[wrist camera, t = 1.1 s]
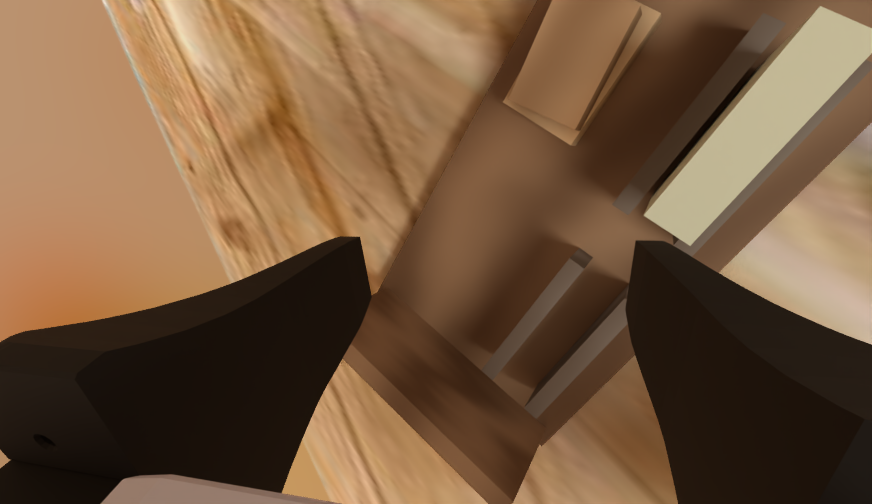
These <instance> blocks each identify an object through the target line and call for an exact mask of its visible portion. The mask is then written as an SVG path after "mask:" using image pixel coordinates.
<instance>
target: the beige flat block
mask: <svg viewBox="0 0 872 504" xmlns="http://www.w3.org/2000/svg"><path fill="white" fill-rule="evenodd" d="M871 53H872V28H870V27H867V26H865V25H863V24H860V23H858V22H856V21H854V20H851V19H849V18H847V17H844V16H842V15H840V14H838V13H835V12H833V11H831V10H828V9H826V8H824V7H821V6H820V7H819V8H818V9H817V10H816V11H815V12H814V13H813V14H812V15H811V16H810V17H809V18H808V19H807V20H806V21H805V22H804V23H803V24H802V25H801V26H800V27H799V28H798V29H797V30H796V31H795V32H794V33H793V34H792V35H791V36H789V37H788V38H787V39H786V40H785V41H784V42H783V43H782V44H781V45H780V46H779V47H778V48H777V49H776V50H775V51H774V52H773V53H772V54H771V55H770V56H769V57H768V58H767V59H766V60H765V61H764V62H763V63H762V64H761V65H760V66H759V67H758V68H757V69H756V71H755V72H754V73H753V74H752V75H751V77H750V78H749V79H748V80H747V81H746V83H745V84H744V85H743V86H742V87H741V89H740V90H739V91H738V92H737V93H736V95H735V96H734V97H733V98H732V99H731V101H730V102H729V103H728V104H727V105H726V107H725V108H724V109H723V110H722V112H721V113H720V114H719V115H718V116H717V118H716V119H715V120H714V121H713V122H712V124H711V125H710V126H709V127H708V128H707V130H706V131H705V132H704V133H703V134H702V136H701V137H700V138H699V139H698V140H697V142H696V143H695V144H694V145H693V146H692V148H691V149H690V150H689V151H688V152H687V154H686V155H685V156H684V157H683V158H682V160H681V161H680V162H679V163H678V164H677V166H676V167H675V168H674V169H673V170H672V172H671V173H670V174H669V175H668V176H667V178H666V179H665V180H664V181H663V182H662V184H661V185H660V186H659V187H658V188H657V190H656V191H655V192H654V193H653V195H652V197H651V199H650V202H649V204H648V206H647V209H646V211H645V213H644V216H645V217H647V218H648V219H650V220H651V221H653V222H654V223H656V224H657V225H659V226H660V227H662V228H663V229H665V230H666V231H668V232H670V233H671V234H673V235H674V236H676V237H677V238H679V239H680V240H682V241H683V242H685V243H686V244H688V245H689V246H691V244H692V243H693V242H694V241H695V240H696V239H697V238H698V237H699V236H700V235H701V234H702V233H703V232H704V231H705V230H706V229H707V227H708V226H709V225H710V224H711V223H712V222H713V221H714V220H715V219H716V218H717V217H718V216H719V215H720V214H721V213H722V212H723V210H724V209H725V208H726V207H727V206H728V205H729V204H730V203H731V202H732V201H733V200H734V199H735V198H736V197H737V196H738V195H739V194H740V192H741V191H742V190H743V189H744V188H745V187H746V186H747V185H748V184H749V183H750V182H751V181H752V180H753V179H754V178H755V177H756V175H757V174H758V173H759V172H760V171H761V170H762V169H763V168H764V167H765V166H766V165H767V164H768V163H769V162H770V161H771V160H772V158H773V157H774V156H775V155H776V154H777V153H778V152H779V151H780V150H781V149H782V148H783V147H784V146H785V145H786V144H787V143H788V142H789V140H790V139H791V138H792V137H793V136H794V135H795V134H796V133H797V132H798V131H799V130H800V129H801V128H802V127H803V126H804V125H805V123H806V122H807V121H808V120H809V119H810V118H811V117H812V116H813V115H814V114H815V113H816V112H817V111H818V110H819V109H820V108H821V107H822V105H823V104H824V103H825V102H826V101H827V100H828V99H829V98H830V97H831V96H832V95H833V94H834V93H835V92H836V91H837V90H838V88H839V87H840V86H841V85H842V84H843V83H844V82H845V81H846V80H847V79H848V78H849V77H850V76H851V75H852V74H853V73H854V71H855V70H856V69H857V68H858V67H859V66H860V65H861V64H862V63H863V62H864V61H865V60H866V59H867V58H868V57H869V56H870V55H871Z"/></svg>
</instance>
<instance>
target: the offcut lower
mask: <svg viewBox="0 0 872 504" xmlns="http://www.w3.org/2000/svg"><path fill="white" fill-rule="evenodd" d="M626 1H629V2H632V3H635V4H638V5H641V11H642V16H641V18H640V19H639V21H638V23H637V25H636V27H635V29H634V31H633V33H632V35H631V36H630V38H629V40H628V42H627V44H626V46H625V48H624V50H623V51H622V53H621V55H620V57H619V59H618V61H617V63H616V65H615V67H614V68H613V70H612V72H611V74H610V76H609V78H608V80H607V82H606V84H605V85H604V87H603V89H602V91H601V93H600V95H599V97H598V99H597V100H596V102H595V104H594V106H593V108H592V110H591V112H590V114H589V116H588V117H587V119H586V121H585V123H584V125H583V127H582V129H581V131H577V130H574V129H572V128H570V127H568V126H565V125H563V124H561V123H559V122H557V121H554V120H552V119H550V118H548V117H545V116H543V115H541V114H539V113H537V112H534V111H532V110H530V109H528V108H525V107H523V106H521V105H519V104H517V103H514V102H512V101H510V100H508V99H509V96H510V94H511V92H512V90H513V87H514V85H515V83H516V81H517V78H518V76H519V75H518V76H517V78H516V80H515V82H514V83H513V85H512V87H511V89H510V90H509V92H508V94H507V96H506V97H505V99H504V101H503V103H505V104H507V105H508V106H510V107H511V108H513V109H514V110H516V111H518V112H519V113H521V114H522V115H524V116H525V117H527V118H529V119H530V120H532V121H533V122H535V123H536V124H538V125H539V126H541V127H543V128H544V129H546V130H547V131H549V132H550V133H552V134H554V135H555V136H557V137H558V138H560V139H561V140H563V141H565V142H566V143H568V144H569V145H572V146H576V145H577V143H578V142H579V140H580V139H581V138H582V136H583V135H584V133H585V132H586V130H587V129H588V127H589V126H590V124H591V123H592V122H593V120H594V119H595V117H596V116H597V114H598V113H599V111H600V110H601V109H602V107H603V106H604V104H605V103H606V101H607V100H608V98H609V97H610V96H611V94H612V93H613V91H614V90H615V88H616V87H617V85H618V84H619V82H620V81H621V80H622V78H623V77H624V75H625V74H626V72H627V71H628V69H629V68H630V67H631V65H632V64H633V62H634V61H635V59H636V58H637V56H638V55H639V54H640V52H641V51H642V49H643V48H644V46H645V45H646V43H647V42H648V40H649V39H650V38H651V36H652V35H653V33H654V32H655V30H656V29H657V27H658V26H659V25H660V23H661V22H662V21H661V13H660V12H658V11H656V10H653V9H651V8H649V7H647V6H645V5H643V4H641V3H639V2H637V1H635V0H626ZM520 72H521V71H520ZM519 74H520V73H519Z"/></svg>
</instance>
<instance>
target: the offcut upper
mask: <svg viewBox="0 0 872 504" xmlns="http://www.w3.org/2000/svg"><path fill="white" fill-rule="evenodd" d="M641 16H642V11H641V5H638V4H635V3H632V2H629V1H626V0H552V2H551V4H550V6H549V8H548V11H547V13H546V15H545V17H544V20H543V22H542V24H541V26H540V29H539V31H538V33H537V35H536V38H535V40H534V42H533V44H532V47H531V49H530V51H529V53H528V56H527V58H526V60H525V63H524V65H523V67H522V69H521V72H520V74H519V76H518V78H517V81H516V83H515V85H514V87H513V90H512V92H511V94H510V96H509V99H508V100H510V101H512V102H514V103H517V104H519V105H521V106H523V107H525V108H528V109H530V110H532V111H534V112H537V113H539V114H541V115H543V116H545V117H548V118H550V119H552V120H554V121H557V122H559V123H561V124H563V125H565V126H568V127H570V128H572V129H574V130H577V131H581V129H582V127H583V125H584V123H585V121H586V119H587V117H588V116H589V114H590V112H591V110H592V108H593V106H594V104H595V102H596V100H597V99H598V97H599V95H600V93H601V91H602V89H603V87H604V85H605V84H606V82H607V80H608V78H609V76H610V74H611V72H612V70H613V68H614V67H615V65H616V63H617V61H618V59H619V57H620V55H621V53H622V51H623V50H624V48H625V46H626V44H627V42H628V40H629V38H630V36H631V35H632V33H633V31H634V29H635V27H636V25H637V23H638V21H639V19H640V18H641Z"/></svg>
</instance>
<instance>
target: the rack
mask: <svg viewBox="0 0 872 504" xmlns="http://www.w3.org/2000/svg"><path fill="white" fill-rule="evenodd" d="M635 1H637V2H639V3H641V4H643V5H645V6H647V7H649V8H651V9H653V10H656V11H658V12H660V13H661V21H662V22H661V23H660V25H659V26H658V27H657V29H656V30H655V32H654V33H653V35H652V36H651V38H650V39H649V40H648V42H647V43H646V45H645V46H644V48H643V49H642V51H641V52H640V54H639V55H638V56H637V58H636V59H635V61H634V62H633V64H632V65H631V67H630V68H629V69H628V71H627V72H626V74H625V75H624V77H623V78H622V80H621V81H620V82H619V84H618V85H617V87H616V88H615V90H614V91H613V93H612V94H611V96H610V97H609V98H608V100H607V101H606V103H605V104H604V106H603V107H602V109H601V110H600V111H599V113H598V114H597V116H596V117H595V119H594V120H593V122H592V123H591V124H590V126H589V127H588V129H587V130H586V132H585V133H584V135H583V136H582V138H581V139H580V140H579V142H578V143H577V145H576V146H572V145H569V144H568V143H566V142H565V141H563V140H561V139H560V138H558V137H557V136H555V135H554V134H552V133H550V132H549V131H547V130H546V129H544V128H543V127H541V126H539V125H538V124H536V123H535V122H533V121H532V120H530V119H529V118H527V117H525V116H524V115H522V114H521V113H519V112H518V111H516V110H514V109H513V108H511V107H510V106H508V105H507V104H505V103H503V101H504V99H505V97H506V96H507V94H508V92H509V90H510V89H511V87H512V85H513V83H514V82H515V80H516V78H517V76H518V75H519V73H520V71H521V69H522V67H523V65H524V63H525V60H526V58H527V56H528V53H529V51H530V49H531V47H532V44H533V42H534V40H535V38H536V35H537V33H538V31H539V29H540V26H541V24H542V22H543V20H544V17H545V15H546V13H547V11H548V8H549V6H550V4H551V2H552V0H537V2H536V4H535V6H534V8H533V10H532V11H531V13H530V15H529V17H528V19H527V20H526V22H525V24H524V26H523V28H522V30H521V31H520V33H519V35H518V37H517V39H516V41H515V42H514V44H513V46H512V48H511V50H510V51H509V53H508V55H507V57H506V59H505V61H504V62H503V64H502V66H501V68H500V70H499V72H498V73H497V75H496V77H495V79H494V81H493V82H492V84H491V86H490V88H489V90H488V92H487V93H486V95H485V97H484V99H483V101H482V103H481V104H480V106H479V108H478V110H477V112H476V113H475V115H474V117H473V119H472V121H471V123H470V124H469V126H468V128H467V130H466V132H465V134H464V135H463V137H462V139H461V141H460V143H459V144H458V146H457V148H456V150H455V152H454V154H453V155H452V157H451V159H450V161H449V163H448V165H447V166H446V168H445V170H444V172H443V174H442V175H441V177H440V179H439V181H438V183H437V185H436V186H435V188H434V190H433V192H432V194H431V196H430V197H429V199H428V201H427V203H426V205H425V207H424V208H423V210H422V212H421V214H420V216H419V217H418V219H417V221H416V223H415V225H414V227H413V228H412V230H411V232H410V234H409V236H408V238H407V239H406V241H405V243H404V245H403V247H402V248H401V250H400V252H399V254H398V256H397V258H396V259H395V261H394V263H393V265H392V267H391V269H390V270H389V272H388V274H387V276H386V278H385V279H384V281H383V283H382V285H381V287H380V289H379V290H378V292H377V293H376V294H373V295H371V296H372V298H371V301H370V303H369V306H368V309H367V312H366V314H365V317H364V319H363V322H362V324H361V326H360V328H359V330H358V332H357V334H356V336H355V337H354V339H353V341H352V343H351V345H350V346H349V348H348V350H347V352H346V353H345V355H344V357H343V359H344V360H345V361H346V362H347V363H348V364H349V365H350V366H351V367H352V368H353V369H354V370H355V371H356V372H357V373H358V374H359V375H360V376H361V377H362V378H363V379H364V380H365V381H366V382H367V383H368V384H369V385H370V386H371V387H372V388H373V389H374V390H375V391H376V392H377V393H378V394H379V395H380V396H381V397H382V398H383V399H384V400H385V401H386V402H387V403H388V404H389V405H390V406H391V407H392V408H393V409H394V410H395V411H396V412H397V413H398V414H399V415H400V416H401V417H402V418H403V419H404V420H405V421H406V422H407V423H408V424H409V425H410V426H411V427H412V428H413V429H414V430H415V431H416V432H417V433H418V434H419V435H420V436H421V437H422V438H423V439H424V440H425V441H426V442H427V443H428V444H429V445H430V446H431V447H432V448H433V449H434V450H435V451H436V452H437V453H438V454H439V455H440V456H441V457H442V458H443V459H444V460H445V461H446V462H447V463H448V464H449V465H450V466H451V467H452V468H453V469H454V470H455V471H456V472H457V473H458V474H459V475H460V476H461V477H462V478H463V479H464V480H465V481H466V482H467V483H468V484H469V485H470V486H471V487H472V488H473V489H474V490H475V491H476V492H477V493H478V494H479V495H480V496H481V497H482V498H483V499H484V500H485V501H486V502H487V503H488V504H512V503H513V501H514V499H515V497H516V495H517V493H518V490H519V488H520V486H521V484H522V481H523V479H524V477H525V475H526V473H527V470H528V468H529V466H530V464H531V461H532V459H533V457H534V455H535V453H536V450H537V448H538V446H539V444H540V445H541V446H542V445H543V444H544V443H545V442H546V441H547V440H548V439H549V438H550V437H552V436H553V435H554V434H555V433H556V432H557V431H558V430H559V429H560V428H561V427H562V426H563V425H564V424H565V423H566V422H567V421H568V420H569V419H570V418H571V417H572V416H573V415H574V414H575V413H576V412H577V411H578V410H579V409H580V408H581V407H582V406H583V405H584V404H585V403H586V402H587V401H588V400H589V399H590V398H591V397H592V396H593V395H594V394H595V393H596V392H597V391H598V390H599V389H600V388H601V387H602V386H603V385H604V384H605V383H607V382H608V381H609V380H610V379H611V378H612V377H613V376H614V375H615V374H616V373H617V372H618V371H619V370H620V369H621V368H622V367H623V366H624V365H625V364H626V363H627V362H628V361H629V360H630V359H631V358H632V357H633V356H634V355H635V352H634V349H633V346H632V343H631V338H630V333H629V328H628V322H627V317H626V311H625V308H626V301H627V295H628V288H629V281H630V275H631V268H632V261H633V255H634V248H635V241H636V240H647V241H665V242H667V243H669V244H671V245H673V246H675V247H677V248H678V249H680V250H682V251H683V252H685V253H687V254H688V255H690V256H691V257H693V258H695V259H696V260H698V261H700V262H701V263H703V264H704V265H706V266H708V267H709V268H711V269H713V270H714V271H716V272H718V273H719V272H720V271H721V270H722V269H723V268H724V267H725V266H726V265H727V264H728V263H729V262H730V261H731V260H732V259H733V258H734V257H735V256H736V255H737V254H738V253H739V252H740V251H741V250H742V249H743V248H744V247H745V246H746V245H747V244H748V243H749V242H750V241H751V240H752V239H753V238H754V237H755V236H756V235H757V234H758V233H759V232H760V231H761V230H762V229H763V228H764V227H765V226H766V225H767V224H768V223H769V222H770V221H772V220H773V219H774V218H775V217H776V216H777V215H778V214H779V213H780V212H781V211H782V210H783V209H784V208H785V207H786V206H787V205H788V204H789V203H790V202H791V201H792V200H793V199H794V198H795V197H796V196H797V195H798V194H799V193H800V192H801V191H802V190H803V189H804V188H805V187H806V186H807V185H808V184H809V183H810V182H811V181H812V180H813V179H814V178H815V177H816V176H817V175H818V174H819V173H820V172H821V171H822V170H823V169H824V168H825V167H827V166H828V165H829V164H830V163H831V162H832V161H833V160H834V159H835V158H836V157H837V156H838V155H839V154H840V153H841V152H842V151H843V150H844V149H845V148H846V147H847V146H848V145H849V144H850V143H851V142H852V141H853V140H854V139H855V138H856V137H857V136H858V135H859V134H860V133H861V132H862V131H863V130H864V129H865V128H866V127H867V126H868V125H869V124H870V123H871V122H872V53H871V55H870V56H869V57H868V58H867V59H866V60H865V61H864V62H863V63H862V64H861V65H860V66H859V67H858V68H857V69H856V70H855V71H854V73H853V74H852V75H851V76H850V77H849V78H848V79H847V80H846V81H845V82H844V83H843V84H842V85H841V86H840V87H839V88H838V90H837V91H836V92H835V93H834V94H833V95H832V96H831V97H830V98H829V99H828V100H827V101H826V102H825V103H824V104H823V105H822V107H821V108H820V109H819V110H818V111H817V112H816V113H815V114H814V115H813V116H812V117H811V118H810V119H809V120H808V121H807V122H806V123H805V125H804V126H803V127H802V128H801V129H800V130H799V131H798V132H797V133H796V134H795V135H794V136H793V137H792V138H791V139H790V140H789V142H788V143H787V144H786V145H785V146H784V147H783V148H782V149H781V150H780V151H779V152H778V153H777V154H776V155H775V156H774V157H773V158H772V160H771V161H770V162H769V163H768V164H767V165H766V166H765V167H764V168H763V169H762V170H761V171H760V172H759V173H758V174H757V175H756V177H755V178H754V179H753V180H752V181H751V182H750V183H749V184H748V185H747V186H746V187H745V188H744V189H743V190H742V191H741V192H740V194H739V195H738V196H737V197H736V198H735V199H734V200H733V201H732V202H731V203H730V204H729V205H728V206H727V207H726V208H725V209H724V210H723V212H722V213H721V214H720V215H719V216H718V217H717V218H716V219H715V220H714V221H713V222H712V223H711V224H710V225H709V226H708V227H707V229H706V230H705V231H704V232H703V233H702V234H701V235H700V236H699V237H698V238H697V239H696V240H695V241H694V242H693V243H692V244H691V246H689V245H688V244H686V243H685V242H683V241H682V240H680V239H679V238H677V237H676V236H674V235H673V234H671V233H670V232H668V231H666V230H665V229H663V228H662V227H660V226H659V225H657V224H656V223H654V222H653V221H651V220H650V219H648V218H647V217H645V216H644V213H645V211H646V209H647V206H648V204H649V202H650V199H651V197H652V195H653V193H654V192H655V191H656V190H657V188H658V187H659V186H660V185H661V184H662V182H663V181H664V180H665V179H666V178H667V176H668V175H669V174H670V173H671V172H672V170H673V169H674V168H675V167H676V166H677V164H678V163H679V162H680V161H681V160H682V158H683V157H684V156H685V155H686V154H687V152H688V151H689V150H690V149H691V148H692V146H693V145H694V144H695V143H696V142H697V140H698V139H699V138H700V137H701V136H702V134H703V133H704V132H705V131H706V130H707V128H708V127H709V126H710V125H711V124H712V122H713V121H714V120H715V119H716V118H717V116H718V115H719V114H720V113H721V112H722V110H723V109H724V108H725V107H726V105H727V104H728V103H729V102H730V101H731V99H732V98H733V97H734V96H735V95H736V93H737V92H738V91H739V90H740V89H741V87H742V86H743V85H744V84H745V83H746V81H747V80H748V79H749V78H750V77H751V75H752V74H753V73H754V72H755V71H756V69H757V68H758V67H759V66H760V65H761V64H762V63H763V62H764V61H765V60H766V59H767V58H768V57H769V56H770V55H771V54H772V53H773V52H774V51H775V50H776V49H777V48H778V47H779V46H780V45H781V44H782V43H783V42H784V41H785V40H786V39H787V38H788V37H789V36H791V35H792V34H793V33H794V32H795V31H796V30H797V29H798V28H799V27H800V26H801V25H802V24H803V23H804V22H805V21H806V20H807V19H808V18H809V17H810V16H811V15H812V14H813V13H814V12H815V11H816V10H817V9H818V8H819V7H820V6H821V7H824V8H826V9H828V10H831V11H833V12H835V13H838V14H840V15H842V16H844V17H847V18H849V19H851V20H854V21H856V22H858V23H860V24H863V25H865V26H867V27H870V28H872V0H635Z"/></svg>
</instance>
